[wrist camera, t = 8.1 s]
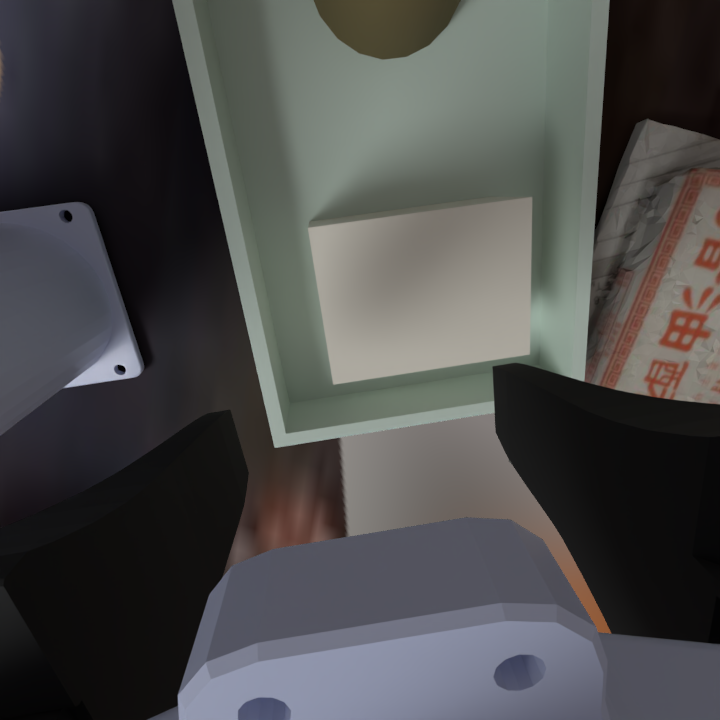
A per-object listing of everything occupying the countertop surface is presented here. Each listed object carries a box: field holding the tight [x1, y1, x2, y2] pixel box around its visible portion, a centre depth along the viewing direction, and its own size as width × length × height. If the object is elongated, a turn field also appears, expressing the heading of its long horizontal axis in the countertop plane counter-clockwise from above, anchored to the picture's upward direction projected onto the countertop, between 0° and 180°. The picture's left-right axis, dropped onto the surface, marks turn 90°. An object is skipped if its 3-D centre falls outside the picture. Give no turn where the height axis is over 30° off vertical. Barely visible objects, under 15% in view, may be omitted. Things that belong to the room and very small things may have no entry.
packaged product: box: [509, 119, 720, 464], centre depth 22 cm, size 18×5×10 cm
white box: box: [308, 196, 532, 385], centre depth 18 cm, size 8×6×4 cm
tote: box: [172, 0, 610, 448], centre depth 17 cm, size 14×22×4 cm, turn 7°
